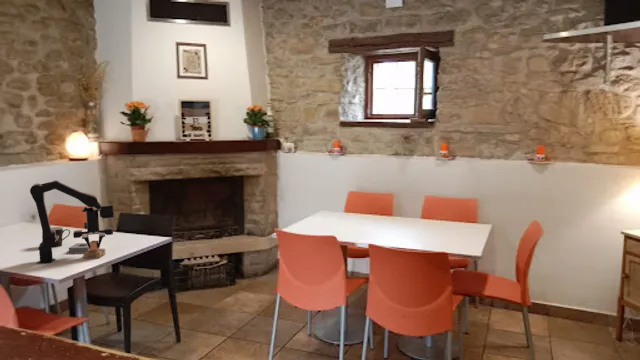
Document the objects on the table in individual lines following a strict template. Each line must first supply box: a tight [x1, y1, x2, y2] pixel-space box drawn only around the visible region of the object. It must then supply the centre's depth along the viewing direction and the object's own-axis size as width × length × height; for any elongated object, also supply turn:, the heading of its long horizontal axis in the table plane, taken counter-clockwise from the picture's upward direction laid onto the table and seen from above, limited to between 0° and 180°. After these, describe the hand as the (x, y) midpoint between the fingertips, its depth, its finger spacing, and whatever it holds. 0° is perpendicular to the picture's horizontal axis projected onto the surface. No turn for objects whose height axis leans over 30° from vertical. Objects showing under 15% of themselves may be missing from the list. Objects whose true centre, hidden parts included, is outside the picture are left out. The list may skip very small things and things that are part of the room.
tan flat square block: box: [83, 248, 106, 260], centre depth 267 cm, size 8×8×3 cm
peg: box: [89, 240, 100, 252], centre depth 266 cm, size 3×3×8 cm
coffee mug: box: [51, 226, 71, 248], centre depth 288 cm, size 12×9×10 cm
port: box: [68, 242, 89, 254], centre depth 278 cm, size 10×10×3 cm
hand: (94, 248), depth 266 cm, fingers closed on peg, 4 cm apart
